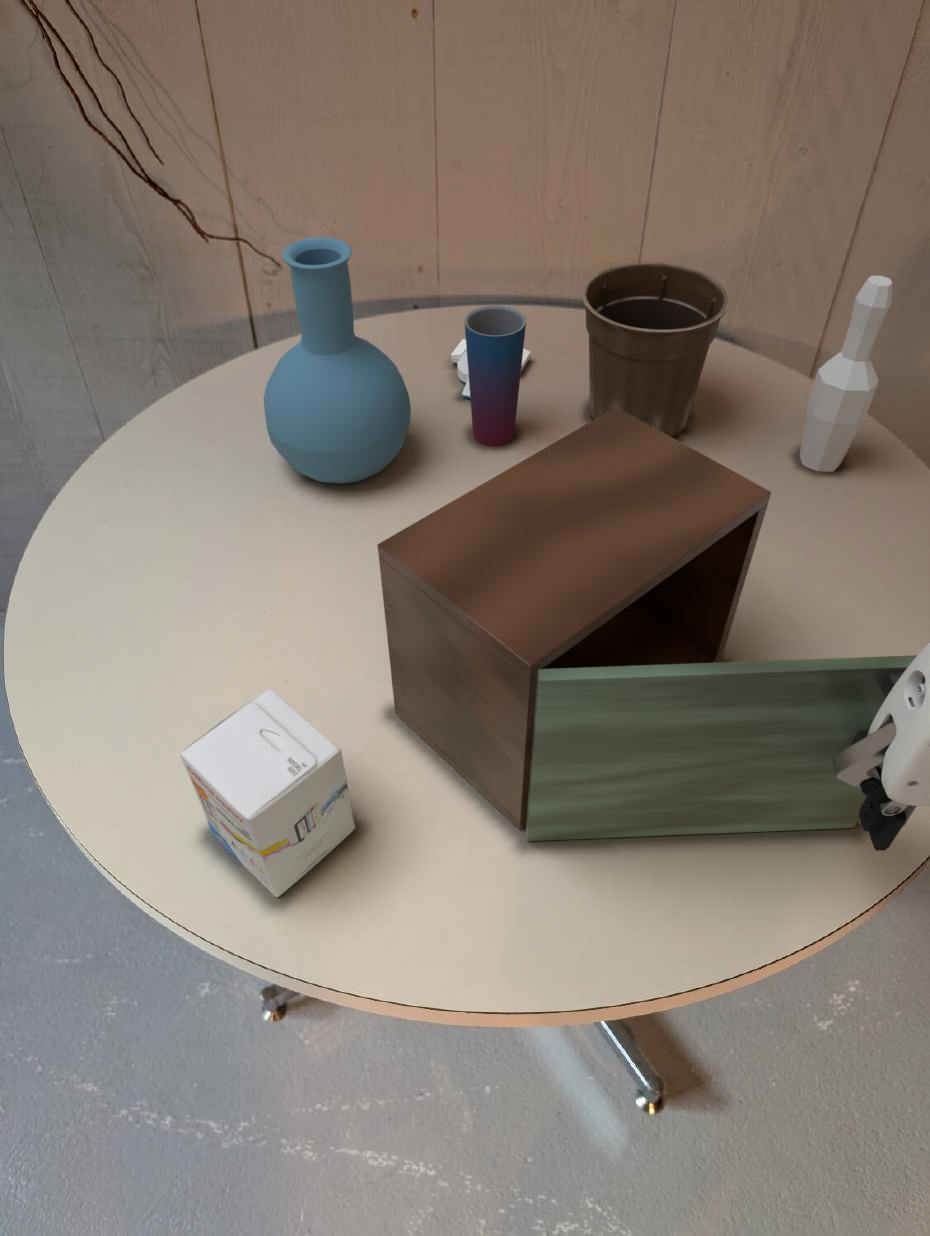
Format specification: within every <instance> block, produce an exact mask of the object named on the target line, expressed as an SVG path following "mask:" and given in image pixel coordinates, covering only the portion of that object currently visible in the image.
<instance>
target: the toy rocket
mask: <svg viewBox="0 0 930 1236" xmlns="http://www.w3.org/2000/svg"><path fill="white" fill-rule="evenodd" d="M450 358H451V359H450V362H453V363H455V364H457V365H456V367H457V369H456V370H457V377H458V379H460V381H462V382H463V383H465V386H464V388H463V390H462V393H461V395H462V398H466V399H470V387H469V374H468V361H467V348H466V338H463V339H461V340H460V342H458V344H457V345H456V347H455V349H454V350H453V351H452V353H451V354H450ZM530 358H531V351H530V350H529V349H526V348H524V347H523V356H522V366H521V372H522V371H523V369H524V368H525V367H526V365H527V363H528V361H529V360H530Z"/></svg>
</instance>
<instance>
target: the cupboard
mask: <svg viewBox="0 0 930 1236" xmlns="http://www.w3.org/2000/svg"><path fill="white" fill-rule="evenodd" d="M771 495H772V491H770V490H769V489H767V488H765V487H763V486H762V485H759V484H758V483H756V482H754V481H752V480H751V479H749V478H746V477H745V476H743V475H742V474H739V473H738V472H736V471H734V470H732V469H730V468H729V467H726V466H725V465H723V464H721V463H719V462H717V461H716V460H715V459H712V458H710V457H709V456H706V455H705V454H703V453H702V452H699V450H696V449H694V448H692V447H690V446H688V445H687V444H685V443H684V442H682V441H680V440H678V439H676V438H674V437H670V436H669V435H667V434H665V433H663V432H661V431H659V430H658V429H656V428H654V427H652V426H650V425H649V424H647V423H645V422H643V421H641V420H639V419H638V418H636V417H634V416H632V415H630V414H629V413H627V412H625V411H623V410H621V409H619V408H618V407H615V408H614V409H612V410H610V411H608V412H607V413H605V414H603V415H602V416H600V417H598V418H596V419H595V420H593V419H592V421H589V422H587V423H586V424H584V425H583V426H581V427H579V428H576V429H575V430H574V431H571V433H568V434H567V435H565V436H563V437H562V438H560V439H558V440H556V441H555V442H552V443H551V444H550V445H548V446H546V447H544V448H542V449H541V450H539V451H537V452H536V453H534V454H532V455H530V456H528V457H526V458H524V459H523V460H522V461H520V462H518V463H516V464H515V465H513V466H510V468H508V469H506V470H504V471H503V472H500V473H499V474H497V475H495V476H494V477H492V478H490V479H489V480H487V481H485V482H483V483H482V484H480V485H478V486H476V487H474V488H472V489H471V490H469V491H467V492H465V493H464V494H463V495H461V496H459V497H457V498H456V499H454V500H452V501H450V502H449V503H447V504H445V505H443V506H442V507H440V508H438V509H437V510H435V511H433V512H431V513H430V514H428V515H426V516H424V517H423V518H420V519H419V520H418V521H417V520H416V522H414V523H412V524H410V525H409V526H406V527H405V528H403V529H402V530H400V531H398V532H396V533H395V534H393V535H391V536H390V537H388V538H386V539H385V540H382V541H381V542H379V543H378V544H377V553H378V563H379V572H380V580H381V593H382V600H383V601H382V602H383V609H384V610H383V611H384V619H385V629H386V630H385V631H386V636H387V638H386V639H387V649H388V657H389V666H390V675H391V684H392V685H391V686H392V695H393V705H394V714H395V715H396V716H397V717H398V718H399V719H400V720H401V721H402V722H404V723H405V725H406V726H408V727H409V728H410V729H411V731H413V732H414V733H415V734H416V735H418V736H419V738H420V739H422V741H424V742H425V743H426V744H427V745H428V746H429V747H430V748H431V749H432V750H433V751H434V752H436V754H437V755H439V756H440V757H441V759H443V760H444V761H445V762H446V763H447V764H448V765H449V766H451V767H452V769H454V770H455V771H456V773H458V774H459V775H460V776H461V777H462V778H463V779H464V780H465V781H466V782H467V783H469V784H470V785H471V786H472V787H473V788H474V790H476V791H477V792H478V793H479V794H480V795H481V796H482V797H483V798H484V799H486V801H488V802H489V803H490V805H492V806H493V807H494V808H495V809H496V810H497V811H498V812H500V814H502V816H504V817H505V818H506V819H507V820H508V821H509V822H510V823H511V824H513V826H514V827H516V828H517V830H519V831H520V830H523V828H524V827H526V820H527V807H528V794H529V781H530V768H531V755H532V742H533V729H534V716H535V702H536V689H537V676H538V669H557V668H584V667H611V666H638V665H665V664H693V663H720V662H722V659H723V655H724V653H725V649H726V645H727V642H728V639H729V636H730V632H731V629H732V625H733V623H734V619H735V616H736V612H737V610H738V605H739V603H740V599H741V595H742V593H743V589H744V585H745V583H746V578H747V576H748V572H749V569H750V566H751V562H752V558H753V557H754V556H753V555H754V552H755V549H756V545H757V543H758V540H759V539H758V538H759V535H760V533H761V529H762V525H763V522H764V518H765V516H766V513H767V509H768V507H769V506H768V505H769V502H770V498H771Z"/></svg>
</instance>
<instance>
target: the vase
mask: <svg viewBox="0 0 930 1236" xmlns="http://www.w3.org/2000/svg"><path fill="white" fill-rule="evenodd" d="M352 254H353V249H352V247H351V245H350V244H348V243H347V242H346V241H345V240H342V239H339V238H336V237H329V236H328V237H325V236H317V237H308V238H303V239H300V240H297V241H295V242H293V243H291V244H289V245H288V246H286V247H285V248H284V250H283V251H282V253H281V255H282V260H283V262H284V263H285V264H287V266H289V270H290V275H291V276H290V279H291V285H292V292H293V297H294V302H295V307H296V314H297V319H298V323H299V329H300V333H301V337H300V338H301V340H300V341H299V342H298V343H296V344H295V345H293V346H292V347H291V348H289V349H288V350H287V351H286V352H285V353H284V354H283V355H282V356H281V357H280V358H279V359H278V361H277V363H276V365H275V367H274V369H273V371H272V373H271V374H270V376H269V378H268V380H267V382H266V386H265V391H264V394H263V408H264V417H265V424H266V430H267V433H268V437H269V440H270V443H271V444H272V445H273V447H274V448H275V449H276V451H277V453H278V454H279V455H280V456H281V457H283V458H284V460H285V461H286V462H287V463H288V464H289V465H290V466H292V467H293V468H294V469H295V470H296V471H297V472H298V473H300V475H303V476H305V477H307V478H310V479H312V480H315V481H317V482H321V483H327V484H339V485H343V484H350V483H357V482H361V481H363V480H365V479H367V478H369V477H372V476H374V475H377V474H379V473H380V472H381V471H383V470H384V469H385V468H386V467H388V465H389V464H391V463H392V462H393V461H394V460H395V458H396V457H397V455H398V454H399V453H400V451H401V450H402V447H403V444H404V442H405V439H406V436H407V433H408V431H409V428H410V424H411V417H412V416H411V415H412V413H411V411H412V406H411V400H410V395H409V392H408V389H407V386H406V383H405V381H404V378H403V376H402V373H400V371H399V368H398V366H397V365H396V364H395V363H394V361H392V359H390V358H389V356H388V355H387V354H386V353H384V352H383V351H382V350H381V349H380V348H378V347H377V346H375V344H372V343H371V342H369V341H368V339H365V338H362V337H360V336H357V335H356V334H355V331H354V330H355V327H354V325H355V324H354V307H353V297H352V296H353V295H352V286H351V285H352V284H351V275H350V269H349V263H348V261H349V260H350V258H351V256H352Z"/></svg>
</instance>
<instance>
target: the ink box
mask: <svg viewBox="0 0 930 1236" xmlns="http://www.w3.org/2000/svg"><path fill="white" fill-rule="evenodd" d="M179 756H180V758H181V760H182V763H183V765H184V767H185V770H186V773H187V775H188V778H189V779H190V782H191V785H192V786H193V789H194V791H195V794H196V796H197V799H198V801H199V804H200V806H201V809H202V812H203V814H204V817H205V819H206V821H207V824H208V826H209V828H210V831H211V834H212V836H213V837H214V838H215V839H216V840H217V841H218V842H219V843H220V844H221V845H222V846H223V847H224V848H225V849H226V850H227V851H228V852H229V853H230V854H231V855H232V856H233V857H234V858H235V859H236V860H237V861H238V862H239V863H240V864H241V865H242V866H243V867H244V868H245V869H246V870H247V871H248V872H249V873H250V874H251V875H252V876H253V877H254V878H255V879H257V881H259V883H260V884H261V885H262V886H264V888H266V889H267V890H268V891H269V893H271V895H272V896H274V897H275V898H279V897H281V895H283V894H284V893H285V892H286V891H287V890H289V889H290V888H291V887H292V886H293V885H295V883H297V882H298V881H299V880H300V879H302V878H303V877H304V876H305V875H306V874H307V873H309V872H310V871H311V870H312V869H313V868H314V867H315V866H317V864H319V863H320V862H321V861H322V860H323V859H324V858H325V857H326V856H328V854H330V853H331V852H332V851H333V850H334V849H335V848H336V847H337V846H338V845H339V844H341V843H342V842H343V841H344V840H345V839H346V838H347V837H348V836H349V835H350V834H351V833H352V832H354V831H355V829H356V824H355V819H354V813H353V808H352V804H351V797H350V791H349V786H348V782H347V776H346V769H345V763H344V758H343V752H342V749H341V748H340V747H338V746H337V745H336V744H335V743H334V742H333V741H332V740H330V738H328V737H327V736H326V735H325V734H324V733H322V731H320V729H318V728H316V726H315V725H313V724H312V723H311V722H310V720H309V721H308V719H306V718H305V717H304V716H303V715H302V714H301V713H300V712H298V711H297V710H296V709H295V708H294V707H293V706H291V705H290V704H289V703H288V702H287V701H286V700H285V699H284V698H283V697H281V696H280V695H279V694H278V693H277V692H275V691H274V689H271V688H270V687H269V688H267V689H266V690H264V691H263V692H261V693H260V694H258V695H256V696H255V697H253V698H252V699H251V700H249V701H248V702H245V704H243V705H242V706H240V707H238V709H236V710H235V711H233V712H232V713H230V714H229V715H228V716H226V717H225V718H223V719H221V720H220V721H218V723H216V724H215V725H214V726H212V727H211V728H209V729H208V730H207V731H205V732H204V733H203V734H201V736H199V737H197V738H196V739H195V740H194V741H192V742H191V743H190V744H188V746H186V747H184V748H183V749H182V750H181V751H180V752H179Z"/></svg>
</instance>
